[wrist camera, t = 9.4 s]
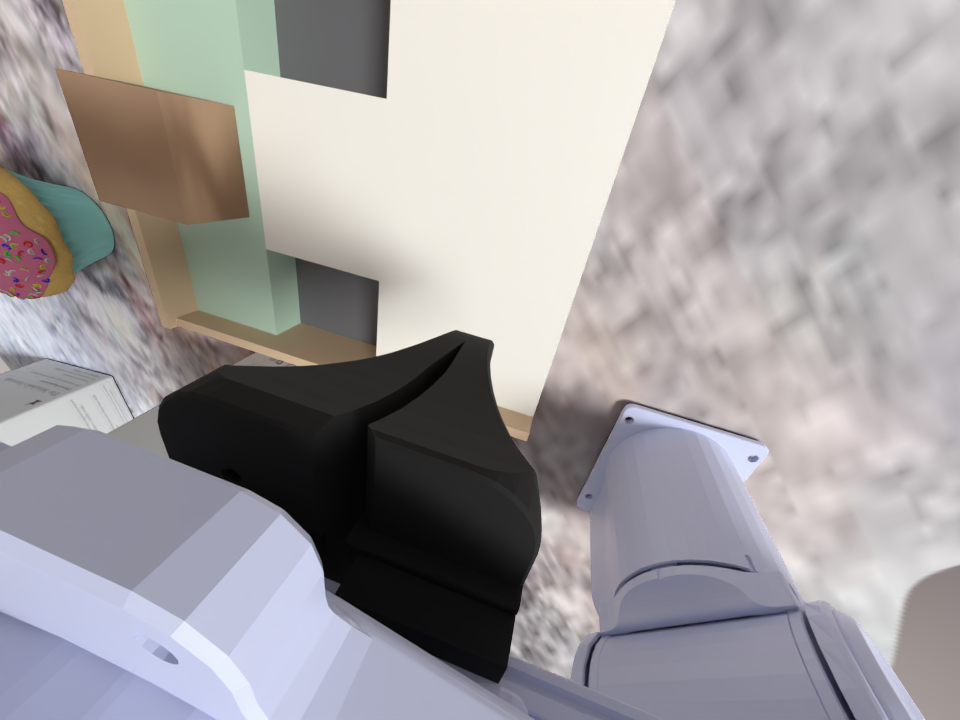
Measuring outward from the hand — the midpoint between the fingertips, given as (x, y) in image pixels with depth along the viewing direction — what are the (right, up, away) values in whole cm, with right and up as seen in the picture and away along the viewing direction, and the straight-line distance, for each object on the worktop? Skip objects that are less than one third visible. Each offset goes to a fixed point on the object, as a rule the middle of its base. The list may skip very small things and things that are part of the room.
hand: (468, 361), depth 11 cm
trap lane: (-5, +9, +8) cm, 13 cm away
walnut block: (-14, +11, +7) cm, 19 cm away
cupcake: (-29, +10, +15) cm, 34 cm away
